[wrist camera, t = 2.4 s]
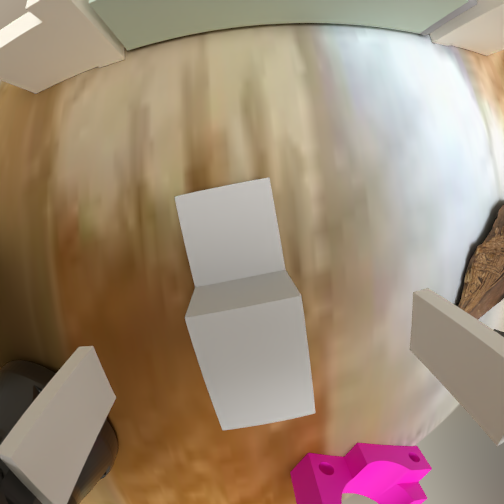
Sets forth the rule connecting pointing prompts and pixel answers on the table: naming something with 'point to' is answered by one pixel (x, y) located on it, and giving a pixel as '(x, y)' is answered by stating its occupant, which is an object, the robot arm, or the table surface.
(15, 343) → the table surface
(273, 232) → the white stepped block
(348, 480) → the magenta saddle bracket
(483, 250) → the wooden fragment
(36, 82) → the wall frame
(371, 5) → the spring door
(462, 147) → the table surface
